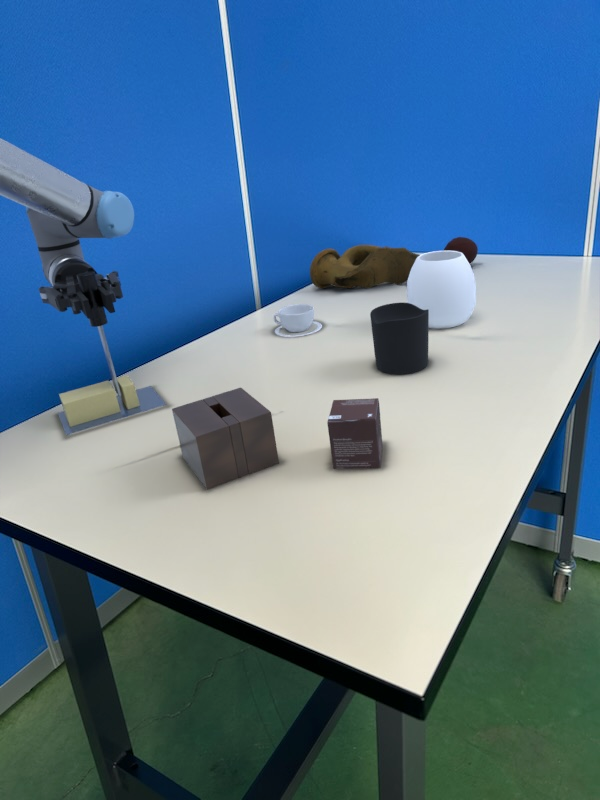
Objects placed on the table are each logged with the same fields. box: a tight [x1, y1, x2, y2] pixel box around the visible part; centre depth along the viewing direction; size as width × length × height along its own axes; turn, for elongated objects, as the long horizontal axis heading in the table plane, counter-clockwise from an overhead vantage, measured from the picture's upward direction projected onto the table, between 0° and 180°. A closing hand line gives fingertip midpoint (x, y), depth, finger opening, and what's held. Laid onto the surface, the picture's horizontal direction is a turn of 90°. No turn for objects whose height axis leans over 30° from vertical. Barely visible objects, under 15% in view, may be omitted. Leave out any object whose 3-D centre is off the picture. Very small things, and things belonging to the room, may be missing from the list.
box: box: [326, 397, 384, 470], centre depth 79 cm, size 6×6×7 cm
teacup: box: [273, 303, 323, 338], centre depth 129 cm, size 10×10×5 cm
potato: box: [443, 236, 479, 265], centre depth 159 cm, size 8×9×8 cm
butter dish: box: [57, 385, 167, 436], centre depth 103 cm, size 16×10×1 cm, turn 117°
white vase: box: [406, 250, 477, 330], centre depth 121 cm, size 13×13×14 cm
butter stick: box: [58, 380, 121, 427], centre depth 100 cm, size 8×5×4 cm, turn 117°
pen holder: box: [369, 302, 430, 376], centre depth 104 cm, size 9×9×10 cm
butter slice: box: [116, 374, 140, 409], centre depth 103 cm, size 2×5×4 cm, turn 27°
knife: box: [77, 271, 121, 396], centre depth 98 cm, size 3×3×20 cm
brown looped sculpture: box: [309, 244, 420, 290], centre depth 151 cm, size 18×13×22 cm
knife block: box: [171, 387, 280, 490], centre depth 82 cm, size 10×10×8 cm
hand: (99, 306), depth 91 cm, fingers closed on knife, 3 cm apart
